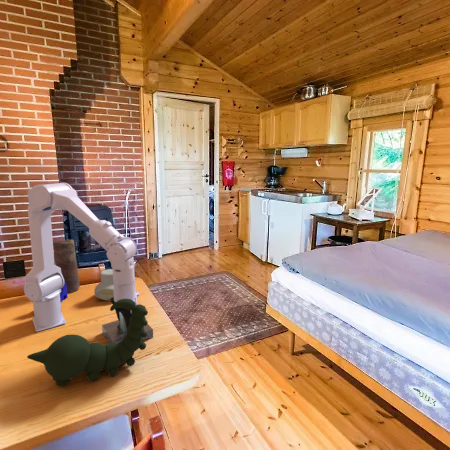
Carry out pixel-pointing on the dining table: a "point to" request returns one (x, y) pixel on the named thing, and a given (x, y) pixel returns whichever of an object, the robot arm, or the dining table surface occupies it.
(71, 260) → the candle
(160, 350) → the dining table surface
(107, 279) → the air freshener
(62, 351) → the toy figurine
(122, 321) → the plug
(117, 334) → the port block
